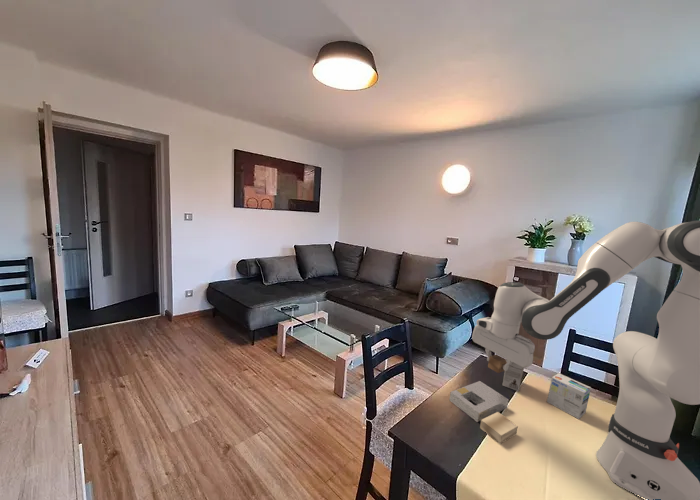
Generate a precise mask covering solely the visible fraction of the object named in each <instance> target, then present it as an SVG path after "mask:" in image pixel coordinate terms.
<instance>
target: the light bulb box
mask: <svg viewBox="0 0 700 500" xmlns="http://www.w3.org/2000/svg"><path fill="white" fill-rule="evenodd" d="M550 380H551V381H550V384H549V389H548V393H547V399H546V403H548V404H550V405H552V406H554V407H555V408H557V409H559V410H561V411H563V412H565V413H567V414H568V415H570V416H572V417H574V418H576V419H578V420H579V419H581V418H582V417H583V416H584V415H585V414H587V413H586V411H587V408H588V404H589V399H590V394H591V389H592V387H591V386H589V385H587V384H584V383H582V382H580V381H578V380H575V379H573V378H571V377H569V376H566V375H564V374H562V373H560V372H558V373H557V374H555V375H553V376H551V379H550Z"/></svg>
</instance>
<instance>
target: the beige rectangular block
mask: <svg viewBox="0 0 700 500" xmlns="http://www.w3.org/2000/svg"><path fill="white" fill-rule="evenodd" d="M518 428H519V426H518V425H517V424H515V423H514V422H513V421H512V420H510V418H507V417H506V416H504V415H503V414H501V413H500V412H496V413H494V414H492V415H490V416H488V417H486V418H484V419H482V420H481V421H480V425H479V429H480V430H482V431H483V432H484V433H485V432H486V433H485V434H487V435H488V436H489V437H490V436H491V437H490V438H492V439H493V440H494V441H495V442H497V443H498V444H499V445H500V444H502V443H504V442H506V441H507V440H509V439H511V438H512V437H514V436H516V435H517V432H518Z"/></svg>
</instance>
